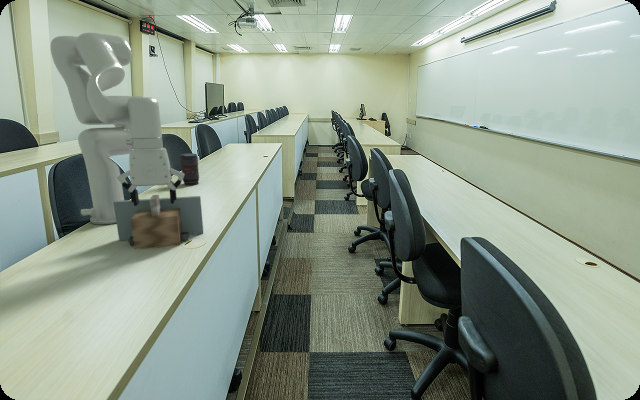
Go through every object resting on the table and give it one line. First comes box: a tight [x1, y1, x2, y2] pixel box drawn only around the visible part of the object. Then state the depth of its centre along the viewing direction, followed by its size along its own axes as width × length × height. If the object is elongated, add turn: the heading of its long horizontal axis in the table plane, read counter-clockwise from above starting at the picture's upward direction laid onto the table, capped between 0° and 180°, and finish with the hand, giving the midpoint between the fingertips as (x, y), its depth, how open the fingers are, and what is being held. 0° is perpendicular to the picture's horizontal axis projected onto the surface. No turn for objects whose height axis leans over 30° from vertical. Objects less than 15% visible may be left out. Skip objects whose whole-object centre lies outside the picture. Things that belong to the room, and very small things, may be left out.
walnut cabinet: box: [130, 194, 182, 250], centre depth 103 cm, size 12×8×14 cm, turn 105°
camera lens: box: [179, 153, 200, 186], centre depth 176 cm, size 8×8×15 cm
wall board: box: [113, 195, 204, 242], centre depth 108 cm, size 24×2×12 cm, turn 105°
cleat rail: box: [128, 232, 190, 247], centre depth 104 cm, size 16×2×2 cm, turn 105°
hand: (155, 203), depth 102 cm, fingers open, 9 cm apart
